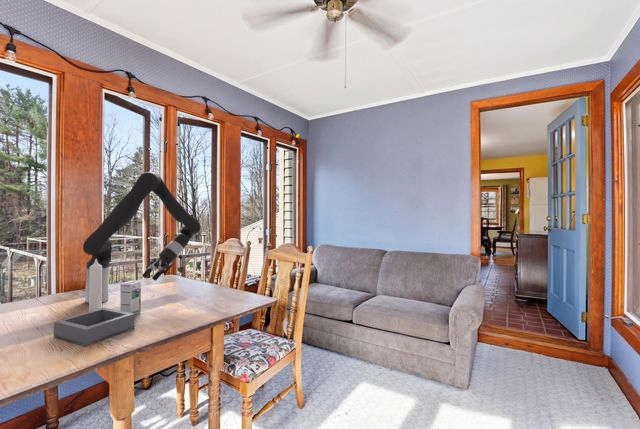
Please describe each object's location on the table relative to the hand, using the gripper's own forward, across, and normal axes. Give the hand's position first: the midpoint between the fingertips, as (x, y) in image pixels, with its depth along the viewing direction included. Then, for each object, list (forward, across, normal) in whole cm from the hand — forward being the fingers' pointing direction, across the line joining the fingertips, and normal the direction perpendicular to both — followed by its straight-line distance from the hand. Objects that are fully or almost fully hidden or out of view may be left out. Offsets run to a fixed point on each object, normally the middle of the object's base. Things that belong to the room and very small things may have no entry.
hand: (148, 278), depth 145 cm
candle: (+23, -12, -2) cm, 26 cm away
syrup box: (+16, 0, +5) cm, 17 cm away
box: (+29, +11, -8) cm, 32 cm away
